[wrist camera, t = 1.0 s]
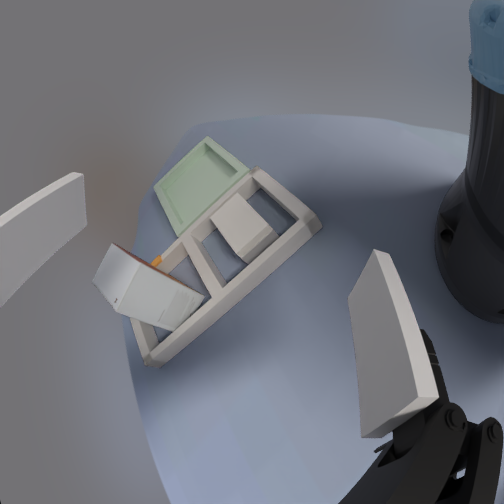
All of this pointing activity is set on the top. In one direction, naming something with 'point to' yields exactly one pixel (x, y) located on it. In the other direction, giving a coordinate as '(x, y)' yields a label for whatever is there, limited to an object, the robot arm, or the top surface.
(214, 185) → the tray
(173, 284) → the small box
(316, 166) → the top surface
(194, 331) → the beige divided frame
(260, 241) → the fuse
